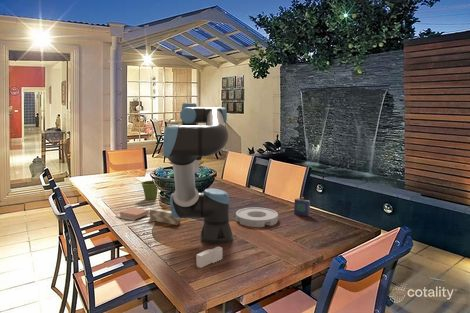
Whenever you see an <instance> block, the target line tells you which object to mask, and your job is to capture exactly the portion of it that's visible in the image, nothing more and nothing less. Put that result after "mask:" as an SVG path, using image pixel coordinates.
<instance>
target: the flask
mask: <svg viewBox="0 0 470 313" xmlns="http://www.w3.org/2000/svg"><path fill="white" fill-rule="evenodd" d="M304 198H305V197H304V196H301V197H300V198H295V199H294V206H293V207H294V208H293V214H294V215H297V216H303V217H310V214H311V201H310V199H309V200H307V199H304Z"/></svg>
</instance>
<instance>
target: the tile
mask: <svg viewBox="0 0 470 313" xmlns="http://www.w3.org/2000/svg"><path fill="white" fill-rule="evenodd" d="M149 211H150V209H145V208H138V207H129V208H127V209H125V210H122V211H120V212H119V214H120V216H124V217H129V218H134V219H136V220H138V219H141V218H143V217H145V216H147V215H150V214H149Z"/></svg>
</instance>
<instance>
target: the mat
mask: <svg viewBox="0 0 470 313" xmlns="http://www.w3.org/2000/svg"><path fill="white" fill-rule="evenodd" d="M148 215H150V210H149V214H148ZM115 218H118V219H119V218H120V219H126V220H130V221H135V220H137V219H134V218H129V217H124V216H120V213H119V214H117V215H115Z"/></svg>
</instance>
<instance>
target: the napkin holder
mask: <svg viewBox="0 0 470 313" xmlns="http://www.w3.org/2000/svg"><path fill="white" fill-rule="evenodd" d="M195 259H196V267H197V268H200V269H202V268H203V267H206V266H208V265H210V264H215V262H216V263H217V261H218V262H219V260H220V261H221V260H223V247H221V246H216V247H214V248H210V249H209V248H207V249H205V250H203V251H201V252H199V253H197V254H196V258H195Z"/></svg>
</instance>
